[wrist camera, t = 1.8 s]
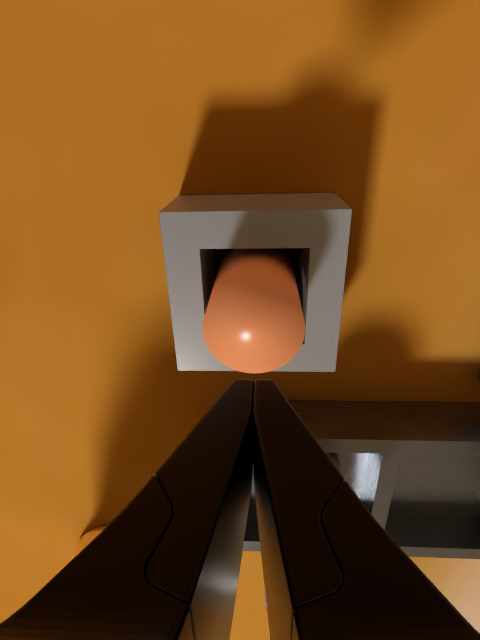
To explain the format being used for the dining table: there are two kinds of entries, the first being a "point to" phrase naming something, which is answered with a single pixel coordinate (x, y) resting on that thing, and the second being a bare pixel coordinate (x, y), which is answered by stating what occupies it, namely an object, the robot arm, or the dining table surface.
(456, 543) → the grey divided tray
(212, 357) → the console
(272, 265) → the brown egg
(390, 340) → the dining table surface
